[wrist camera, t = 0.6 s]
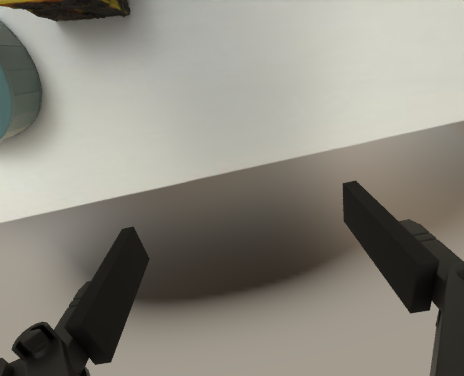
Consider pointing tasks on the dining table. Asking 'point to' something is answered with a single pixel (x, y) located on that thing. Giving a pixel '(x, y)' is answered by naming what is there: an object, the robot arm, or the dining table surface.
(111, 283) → the robot arm
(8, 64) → the pot
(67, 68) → the dining table surface
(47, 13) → the candle
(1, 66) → the lid
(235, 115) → the dining table surface
